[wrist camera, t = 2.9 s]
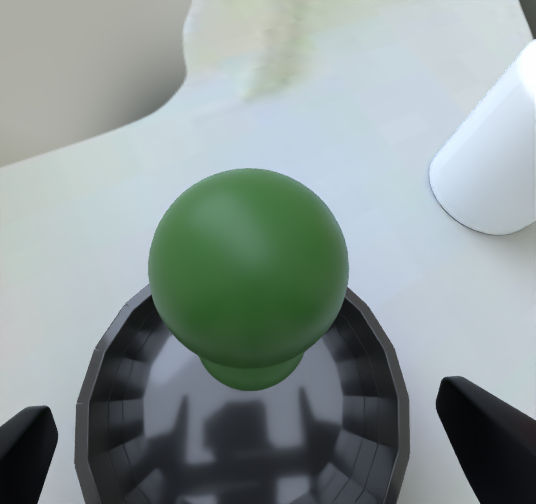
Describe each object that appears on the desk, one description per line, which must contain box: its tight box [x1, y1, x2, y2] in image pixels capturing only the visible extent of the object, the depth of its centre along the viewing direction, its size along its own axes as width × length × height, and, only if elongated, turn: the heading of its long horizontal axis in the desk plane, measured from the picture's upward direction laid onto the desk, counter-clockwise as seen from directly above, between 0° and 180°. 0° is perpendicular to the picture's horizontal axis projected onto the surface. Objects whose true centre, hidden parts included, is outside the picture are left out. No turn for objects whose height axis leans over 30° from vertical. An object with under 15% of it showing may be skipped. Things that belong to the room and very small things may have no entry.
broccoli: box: [148, 168, 349, 391], centre depth 13 cm, size 6×5×13 cm
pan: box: [74, 283, 410, 504], centre depth 16 cm, size 13×13×4 cm
